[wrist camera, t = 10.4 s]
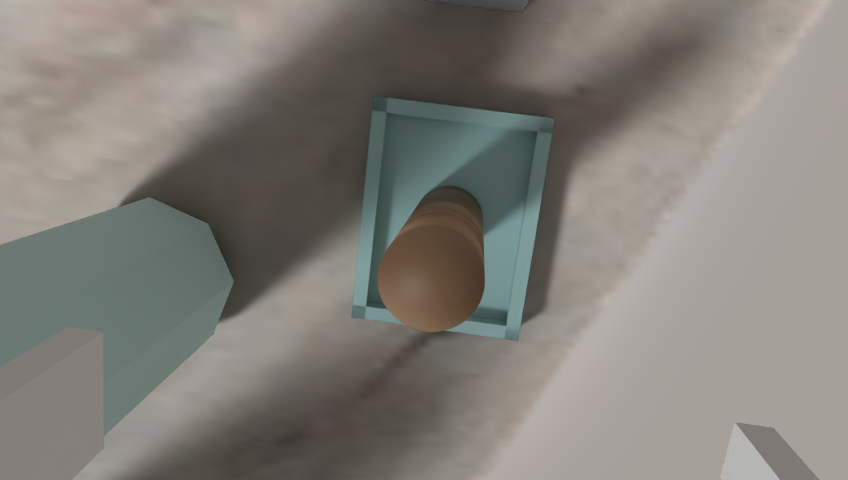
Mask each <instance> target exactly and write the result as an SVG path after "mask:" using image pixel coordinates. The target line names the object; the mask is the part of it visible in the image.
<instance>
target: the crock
mask: <svg viewBox="0 0 848 480" xmlns="http://www.w3.org/2000/svg"><path fill="white" fill-rule="evenodd" d="M423 1H432V2H440V3H449V4H457V5H466V6H474V7H482V8H491V9H499V10H508V11H516V12H522V11H523V10H524V8H525V6H526V5H527V3H528V1H529V0H423Z"/></svg>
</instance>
